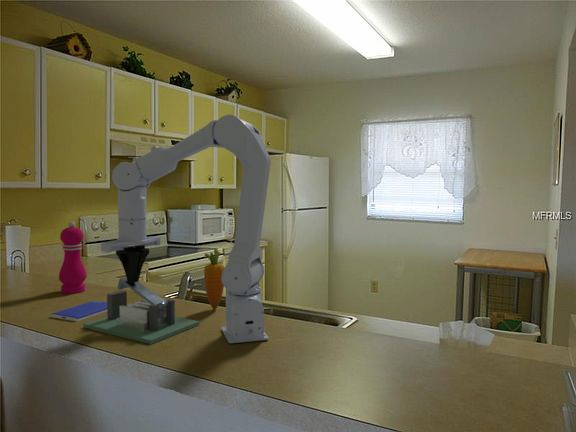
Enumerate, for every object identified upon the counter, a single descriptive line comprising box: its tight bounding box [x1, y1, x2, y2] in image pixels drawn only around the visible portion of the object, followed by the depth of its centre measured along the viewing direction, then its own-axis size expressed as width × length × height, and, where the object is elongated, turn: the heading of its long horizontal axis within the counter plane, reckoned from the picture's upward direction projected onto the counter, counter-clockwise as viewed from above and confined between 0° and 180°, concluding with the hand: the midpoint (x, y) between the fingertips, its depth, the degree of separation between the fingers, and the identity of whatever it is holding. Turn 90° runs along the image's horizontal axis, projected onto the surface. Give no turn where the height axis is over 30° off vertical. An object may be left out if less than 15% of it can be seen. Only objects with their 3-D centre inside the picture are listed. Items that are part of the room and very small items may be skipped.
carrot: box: [203, 248, 225, 310], centre depth 110 cm, size 5×5×15 cm
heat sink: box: [117, 298, 167, 332], centre depth 96 cm, size 8×8×4 cm
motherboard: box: [82, 316, 200, 345], centre depth 96 cm, size 20×14×1 cm
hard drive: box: [50, 300, 107, 322], centre depth 107 cm, size 2×8×12 cm
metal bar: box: [116, 276, 170, 310], centre depth 96 cm, size 13×3×3 cm, turn 61°
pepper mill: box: [58, 221, 88, 295], centre depth 127 cm, size 7×7×20 cm
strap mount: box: [106, 289, 176, 331], centre depth 97 cm, size 15×6×6 cm, turn 61°
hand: (132, 281), depth 97 cm, fingers closed, pressing on metal bar
